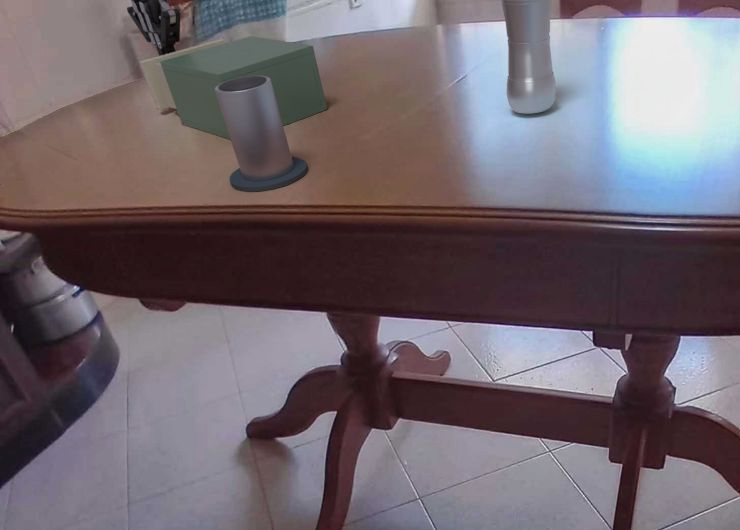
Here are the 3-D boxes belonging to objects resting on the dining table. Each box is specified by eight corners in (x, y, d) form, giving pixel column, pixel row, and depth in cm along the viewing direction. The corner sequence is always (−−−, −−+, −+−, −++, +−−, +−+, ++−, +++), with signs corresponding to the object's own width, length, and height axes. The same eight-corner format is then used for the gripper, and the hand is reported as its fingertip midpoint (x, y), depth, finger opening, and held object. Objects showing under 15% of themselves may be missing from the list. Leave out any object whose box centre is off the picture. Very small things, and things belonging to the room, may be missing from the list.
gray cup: (260, 185, 79) (233, 94, 73) (232, 174, 82) (204, 87, 76) (304, 166, 82) (281, 78, 76) (275, 157, 86) (251, 72, 80)
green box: (181, 124, 103) (159, 61, 97) (267, 95, 111) (250, 36, 106) (239, 142, 93) (218, 74, 88) (327, 109, 102) (312, 45, 96)
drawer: (144, 104, 110) (127, 58, 105) (221, 80, 117) (207, 36, 113) (204, 123, 99) (187, 72, 95) (284, 95, 106) (272, 47, 102)
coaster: (258, 198, 77) (256, 193, 77) (216, 181, 83) (214, 176, 82) (323, 169, 83) (321, 164, 82) (279, 156, 88) (278, 151, 87)
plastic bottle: (499, 118, 91) (485, -58, 79) (520, 101, 96) (509, -67, 84) (545, 121, 89) (537, -60, 77) (564, 103, 94) (559, -69, 82)
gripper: (86, -48, 104) (133, 73, 114) (126, -47, 96) (172, 82, 106) (134, -57, 108) (175, 61, 118) (176, -56, 100) (215, 69, 111)
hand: (173, 71), depth 112 cm, fingers closed
